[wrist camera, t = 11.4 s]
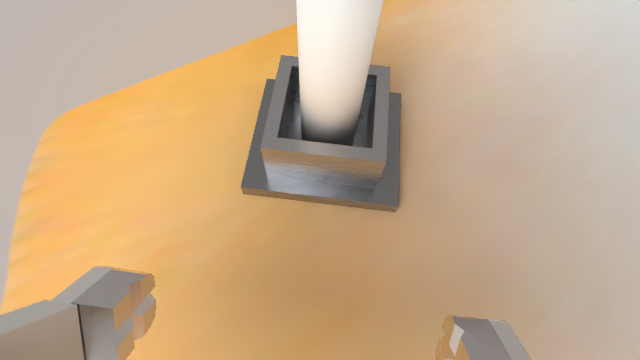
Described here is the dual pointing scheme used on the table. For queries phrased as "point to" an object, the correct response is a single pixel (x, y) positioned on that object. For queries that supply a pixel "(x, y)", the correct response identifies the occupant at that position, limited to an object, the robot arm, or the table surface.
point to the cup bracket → (326, 148)
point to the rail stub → (334, 65)
